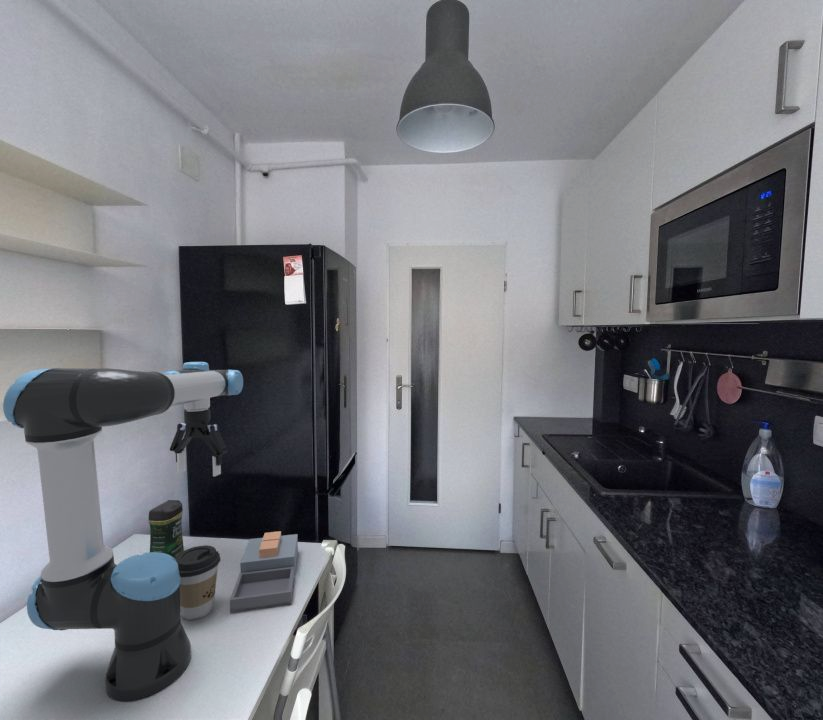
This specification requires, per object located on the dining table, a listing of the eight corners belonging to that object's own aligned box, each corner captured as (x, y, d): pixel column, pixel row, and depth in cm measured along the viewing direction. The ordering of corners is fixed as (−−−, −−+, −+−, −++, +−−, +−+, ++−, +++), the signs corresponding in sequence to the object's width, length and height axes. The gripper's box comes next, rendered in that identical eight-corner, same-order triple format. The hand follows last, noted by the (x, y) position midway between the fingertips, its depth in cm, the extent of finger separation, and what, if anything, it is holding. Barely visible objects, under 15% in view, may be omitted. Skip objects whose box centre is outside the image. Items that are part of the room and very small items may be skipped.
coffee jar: (169, 569, 121) (167, 510, 120) (144, 568, 121) (142, 509, 120) (188, 552, 130) (187, 497, 130) (166, 552, 131) (164, 497, 130)
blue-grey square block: (294, 576, 117) (294, 556, 117) (240, 583, 114) (240, 562, 113) (297, 551, 131) (297, 534, 130) (249, 557, 127) (249, 539, 127)
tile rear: (279, 546, 122) (279, 538, 122) (262, 548, 121) (262, 540, 121) (281, 538, 127) (280, 531, 127) (264, 540, 126) (264, 532, 126)
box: (290, 604, 104) (290, 591, 104) (230, 613, 101) (229, 600, 101) (294, 578, 116) (294, 566, 116) (240, 585, 113) (239, 573, 113)
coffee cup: (207, 626, 96) (205, 567, 96) (161, 626, 97) (159, 566, 96) (230, 596, 108) (228, 543, 107) (189, 596, 108) (187, 542, 107)
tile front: (277, 555, 117) (277, 547, 117) (259, 558, 116) (259, 549, 116) (279, 547, 122) (278, 539, 122) (262, 549, 121) (261, 541, 121)
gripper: (238, 408, 129) (239, 472, 130) (174, 406, 134) (176, 467, 135) (222, 412, 121) (224, 480, 122) (155, 409, 127) (158, 474, 128)
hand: (199, 473), depth 129 cm, fingers open, 13 cm apart
